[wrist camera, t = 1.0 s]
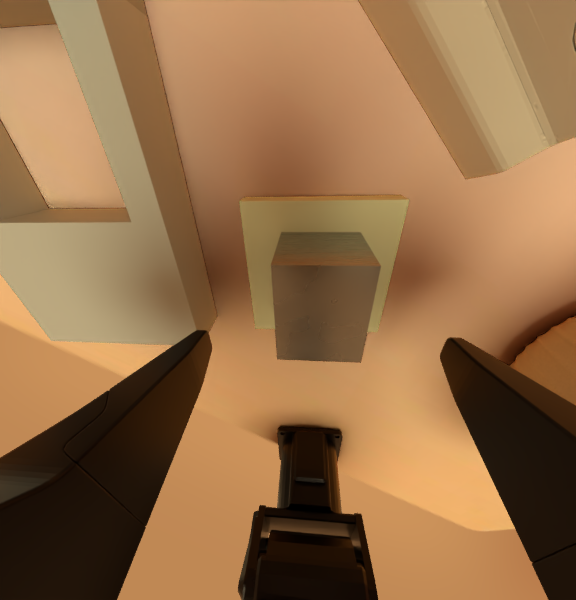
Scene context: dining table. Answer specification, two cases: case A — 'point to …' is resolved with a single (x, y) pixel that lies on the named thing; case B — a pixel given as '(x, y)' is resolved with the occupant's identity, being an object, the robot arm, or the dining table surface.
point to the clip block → (323, 295)
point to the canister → (552, 360)
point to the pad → (318, 218)
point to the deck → (107, 221)
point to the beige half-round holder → (487, 73)
